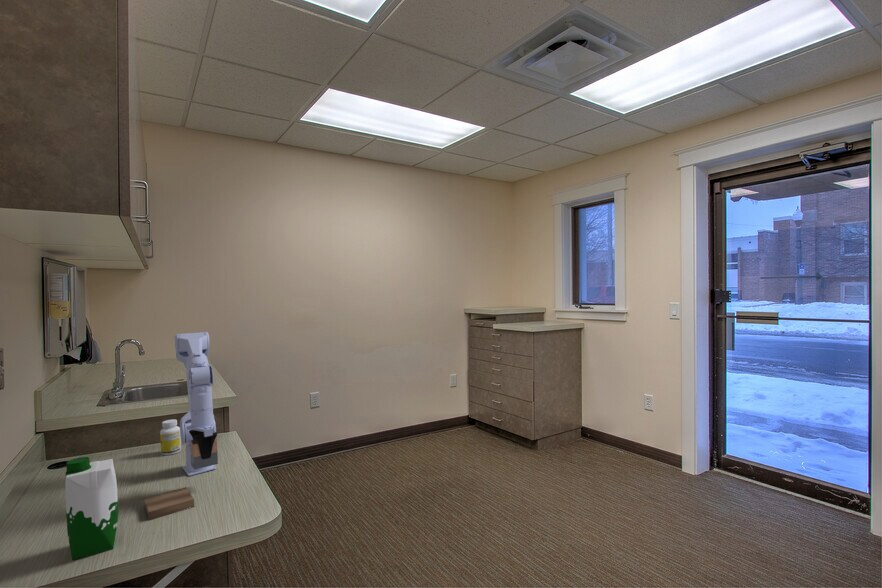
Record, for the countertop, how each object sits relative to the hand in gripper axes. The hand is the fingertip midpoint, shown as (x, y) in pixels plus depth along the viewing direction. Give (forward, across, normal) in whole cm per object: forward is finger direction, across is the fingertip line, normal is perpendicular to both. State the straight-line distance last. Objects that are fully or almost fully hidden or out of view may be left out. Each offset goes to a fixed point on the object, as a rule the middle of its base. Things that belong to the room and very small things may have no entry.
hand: (204, 455), depth 131 cm
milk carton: (+9, +17, -26) cm, 32 cm away
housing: (+2, 0, 0) cm, 2 cm away
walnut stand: (+9, +6, -10) cm, 15 cm away
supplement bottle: (+10, -43, -2) cm, 44 cm away
